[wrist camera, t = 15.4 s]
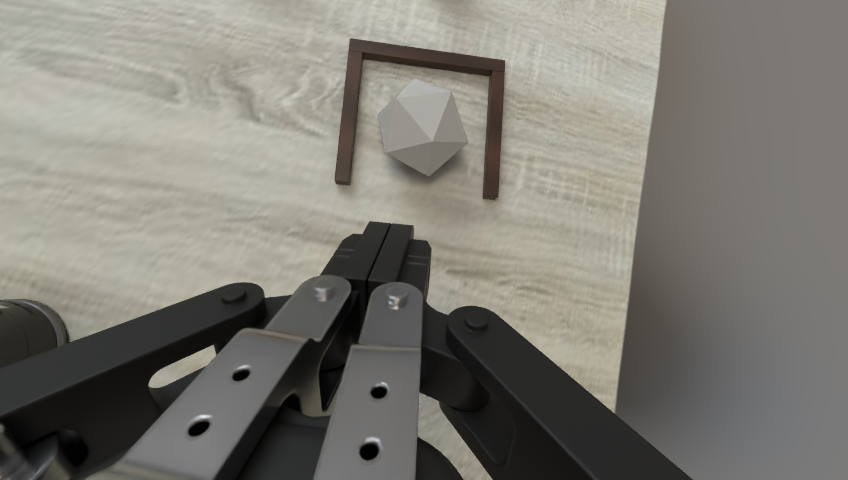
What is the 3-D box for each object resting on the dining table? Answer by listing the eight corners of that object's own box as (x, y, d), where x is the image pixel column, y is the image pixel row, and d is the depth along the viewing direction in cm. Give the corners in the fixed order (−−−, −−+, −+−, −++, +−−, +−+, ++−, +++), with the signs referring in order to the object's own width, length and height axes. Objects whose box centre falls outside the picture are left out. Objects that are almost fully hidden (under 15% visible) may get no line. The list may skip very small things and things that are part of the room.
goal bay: (495, 199, 42) (498, 197, 41) (335, 183, 40) (334, 180, 39) (502, 66, 44) (505, 60, 43) (350, 44, 42) (350, 37, 41)
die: (452, 106, 44) (409, 42, 35) (494, 150, 39) (456, 89, 31) (399, 154, 45) (346, 104, 37) (433, 202, 41) (381, 157, 32)
